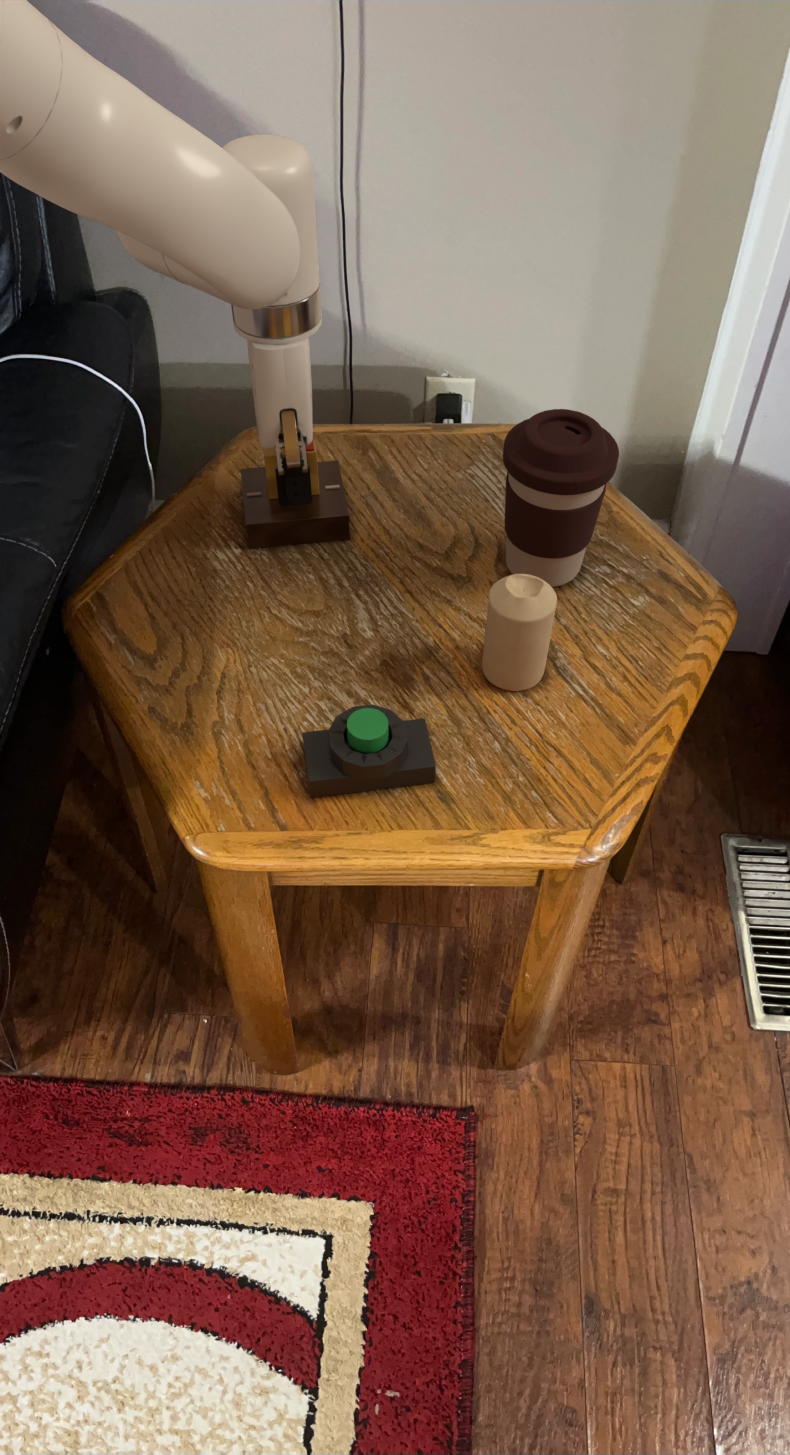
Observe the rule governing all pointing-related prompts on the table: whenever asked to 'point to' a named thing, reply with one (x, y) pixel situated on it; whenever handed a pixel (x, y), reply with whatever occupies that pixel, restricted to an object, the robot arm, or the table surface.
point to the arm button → (367, 730)
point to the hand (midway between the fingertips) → (292, 481)
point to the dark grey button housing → (368, 757)
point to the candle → (518, 631)
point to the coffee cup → (554, 491)
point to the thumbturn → (271, 457)
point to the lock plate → (295, 511)
